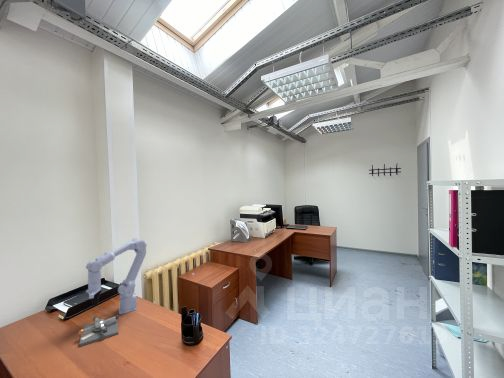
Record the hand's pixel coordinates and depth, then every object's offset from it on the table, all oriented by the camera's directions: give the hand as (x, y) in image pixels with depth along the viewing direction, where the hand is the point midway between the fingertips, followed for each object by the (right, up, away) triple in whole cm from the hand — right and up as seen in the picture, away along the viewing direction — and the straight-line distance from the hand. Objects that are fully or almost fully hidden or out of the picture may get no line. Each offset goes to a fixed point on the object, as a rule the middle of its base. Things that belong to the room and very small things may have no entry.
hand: (95, 305), depth 122 cm
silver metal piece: (+8, -9, -7) cm, 14 cm away
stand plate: (+8, -10, -7) cm, 15 cm away
